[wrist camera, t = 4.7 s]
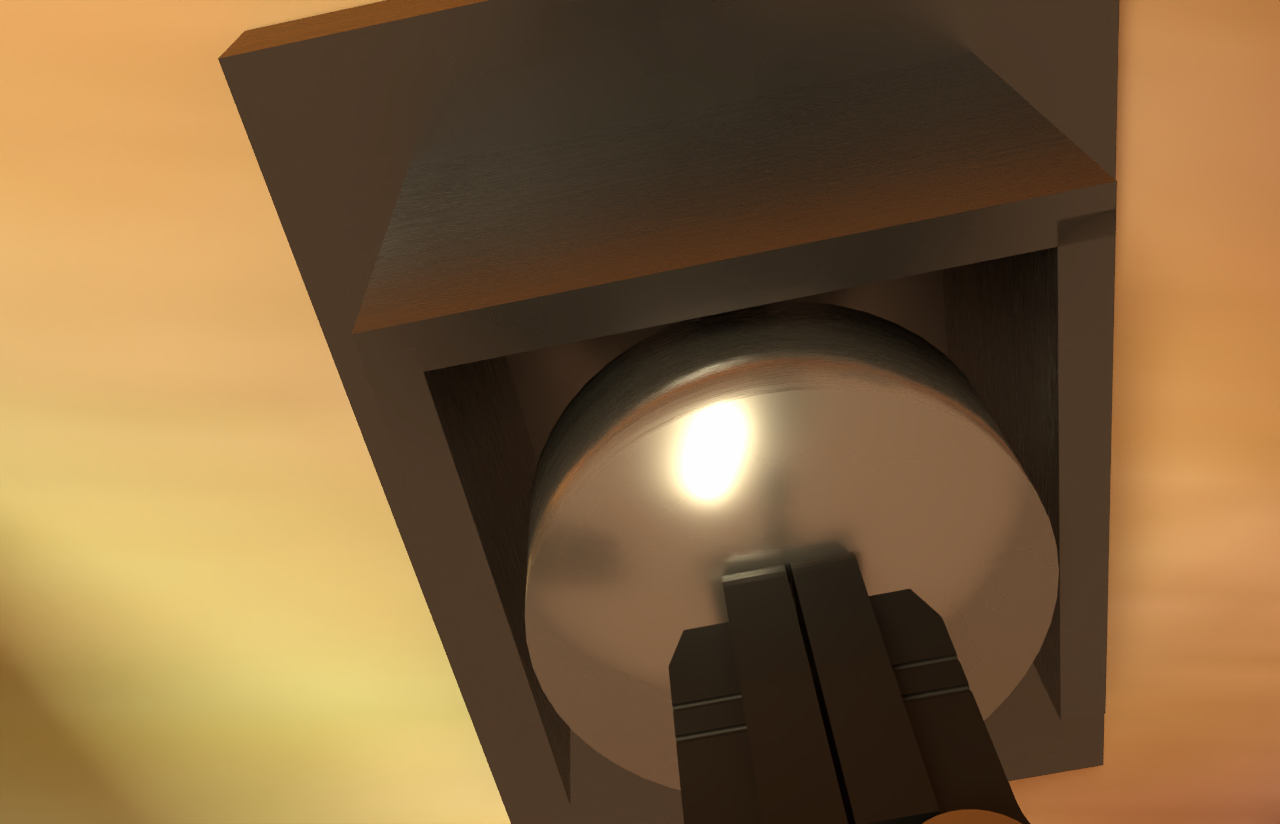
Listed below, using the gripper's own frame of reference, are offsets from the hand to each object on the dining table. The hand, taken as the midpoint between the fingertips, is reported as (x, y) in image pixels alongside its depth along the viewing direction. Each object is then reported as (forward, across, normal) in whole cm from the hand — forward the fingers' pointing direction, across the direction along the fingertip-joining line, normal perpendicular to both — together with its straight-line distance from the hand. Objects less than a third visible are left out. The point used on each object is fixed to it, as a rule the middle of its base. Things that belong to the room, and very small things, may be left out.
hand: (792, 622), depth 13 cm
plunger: (+4, 0, +3) cm, 5 cm away
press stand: (+8, 0, +2) cm, 8 cm away
